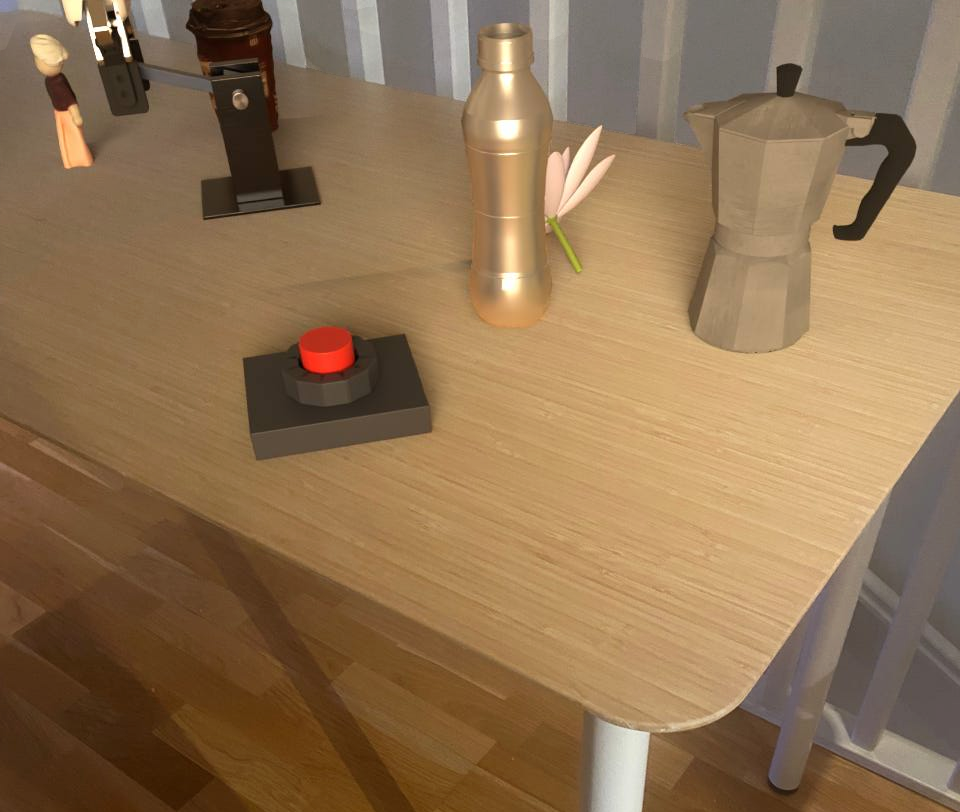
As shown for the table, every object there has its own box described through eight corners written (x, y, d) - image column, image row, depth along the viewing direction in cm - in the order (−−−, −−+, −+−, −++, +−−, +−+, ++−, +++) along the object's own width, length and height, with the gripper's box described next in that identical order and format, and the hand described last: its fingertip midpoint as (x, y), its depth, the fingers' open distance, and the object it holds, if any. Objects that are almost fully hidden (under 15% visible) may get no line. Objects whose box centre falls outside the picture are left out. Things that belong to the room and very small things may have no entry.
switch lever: (110, 88, 84) (110, 57, 82) (113, 70, 87) (113, 40, 86) (255, 117, 88) (257, 88, 86) (252, 99, 91) (254, 71, 90)
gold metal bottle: (541, 292, 81) (542, 11, 66) (560, 333, 76) (565, 40, 62) (464, 302, 80) (447, 21, 66) (478, 343, 75) (464, 51, 61)
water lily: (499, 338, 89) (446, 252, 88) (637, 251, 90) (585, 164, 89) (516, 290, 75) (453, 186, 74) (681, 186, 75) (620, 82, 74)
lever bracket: (205, 229, 92) (171, 91, 83) (203, 192, 98) (171, 60, 90) (322, 214, 93) (300, 76, 85) (313, 178, 99) (292, 47, 91)
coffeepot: (646, 339, 75) (669, 78, 62) (679, 284, 81) (706, 35, 68) (855, 375, 70) (927, 101, 57) (874, 313, 76) (943, 52, 63)
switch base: (256, 461, 66) (243, 410, 63) (248, 384, 73) (236, 334, 70) (431, 433, 67) (427, 382, 65) (408, 359, 74) (402, 310, 71)
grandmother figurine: (51, 167, 105) (5, 31, 95) (84, 156, 106) (42, 22, 97) (85, 186, 100) (40, 47, 91) (119, 175, 102) (78, 37, 93)
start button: (305, 380, 66) (300, 356, 65) (300, 353, 69) (296, 330, 67) (358, 372, 66) (354, 348, 65) (351, 345, 69) (348, 322, 68)
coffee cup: (221, 158, 104) (190, 18, 95) (203, 133, 110) (172, -2, 100) (300, 142, 106) (277, 3, 97) (279, 119, 112) (255, -15, 102)
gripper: (20, -170, 80) (94, 77, 93) (-7, -135, 68) (83, 142, 81) (114, -179, 80) (175, 68, 94) (104, -146, 69) (175, 130, 82)
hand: (131, 100), depth 87 cm, fingers closed on switch lever, 5 cm apart
